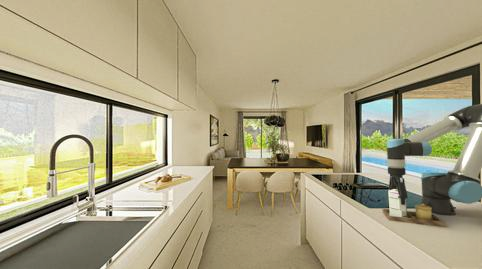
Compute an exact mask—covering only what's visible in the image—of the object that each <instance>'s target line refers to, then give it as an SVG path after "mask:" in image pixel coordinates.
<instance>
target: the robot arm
mask: <svg viewBox="0 0 482 269" xmlns="http://www.w3.org/2000/svg"><path fill="white" fill-rule="evenodd" d="M466 128H471V129H470V132H469V133H468V136H467V138H466V141H465V143H464V145H463V147H462V150H461V151H460V154H459V156H458V157H457V158H458V159H457V161H456V163H455V165H454V168H453V169H452V170H449V171H447V172H428V171H427V172H421V173H422V174H421V178H420V180H421V196H422V197H421V199H420V201H419V205H421V204H425V205H426V206H429V207H431V208H432V210H431V214H433V215H439V216H447V217H450V216H451V217H452V216H456V213H457V212H456V209H455V207H454V205H453V203H452V201H454V202H457V203H462V204H467V205H468V204H469V205H470V204H475V203H477V202H479V201H480V200H482V185H481V181H482V180H481V179H480V178H479V174H480V173H481V171H482V103H479V104H471V105H467V106H466V107H463V108H461V109H458V110H456V111H454V112H453V113H449V114H448V115H446V116H445V117H444V118H443V120H442V119H441V121H438V122H436V123H434V124H432V125H430V126H428V127H426V128H424V129H422V130H420V131H418V132H416V133H413V134H411V135H409V136H407V137H405V138H388V139H387V141H386V156H387V158H386V159H387V160H386V163H387V173H388V175H389V182H388V190H393V189H397V190H398V194H399V196H398V198H399V211H406V205H407V199H408V192H407V188H406V182H405V178H404V177H402V176H405V175H406V174H407V173H406V157H426V156H427V157H428V156H430V155H431V154H432V151H433V147H432V145H431V142H432V141H434V140H437V139H438V138H441V137H442V136H445V135H447V134H449V133H452V132H453V131H460V130H462V129H466ZM429 142H430V143H429Z"/></svg>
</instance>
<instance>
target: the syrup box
mask: <svg viewBox="0 0 482 269" xmlns="http://www.w3.org/2000/svg"><path fill="white" fill-rule="evenodd" d="M398 196H399V194H398V190H397V188H396V189H393V190H390V189H388V207H389V208H388V209H389V210H390V216H396V217H405V218H407V211H408V210H407V209H408V207H407V206H408V205H407V204H406V211H399V198H398Z"/></svg>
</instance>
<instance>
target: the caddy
mask: <svg viewBox="0 0 482 269" xmlns="http://www.w3.org/2000/svg"><path fill="white" fill-rule="evenodd" d="M381 211H382V214H383V215H384V216H385V218H387V220H388V221H391V222H398V223H406V224H407V223H408V224H414V225H415V224H416V225H421V226H422V225H424V226H429V227H431V226H432V227H438V228H439V227H440V228H446V222H444V221H443V219H440V218H439V217H438V216H436V214H432V213H431V214H432V220H423V219H416V211H410V210H407V218H405V217H396V216H390V210H389V208H382V210H381Z"/></svg>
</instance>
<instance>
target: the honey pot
mask: <svg viewBox="0 0 482 269" xmlns="http://www.w3.org/2000/svg"><path fill="white" fill-rule="evenodd" d="M419 204H420V203H419ZM419 204H415V205H414V209H415V212H416V219H423V220H432V213H431V210H432V208H431V207H429V206H426V205H425V204H421V205H419Z"/></svg>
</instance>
